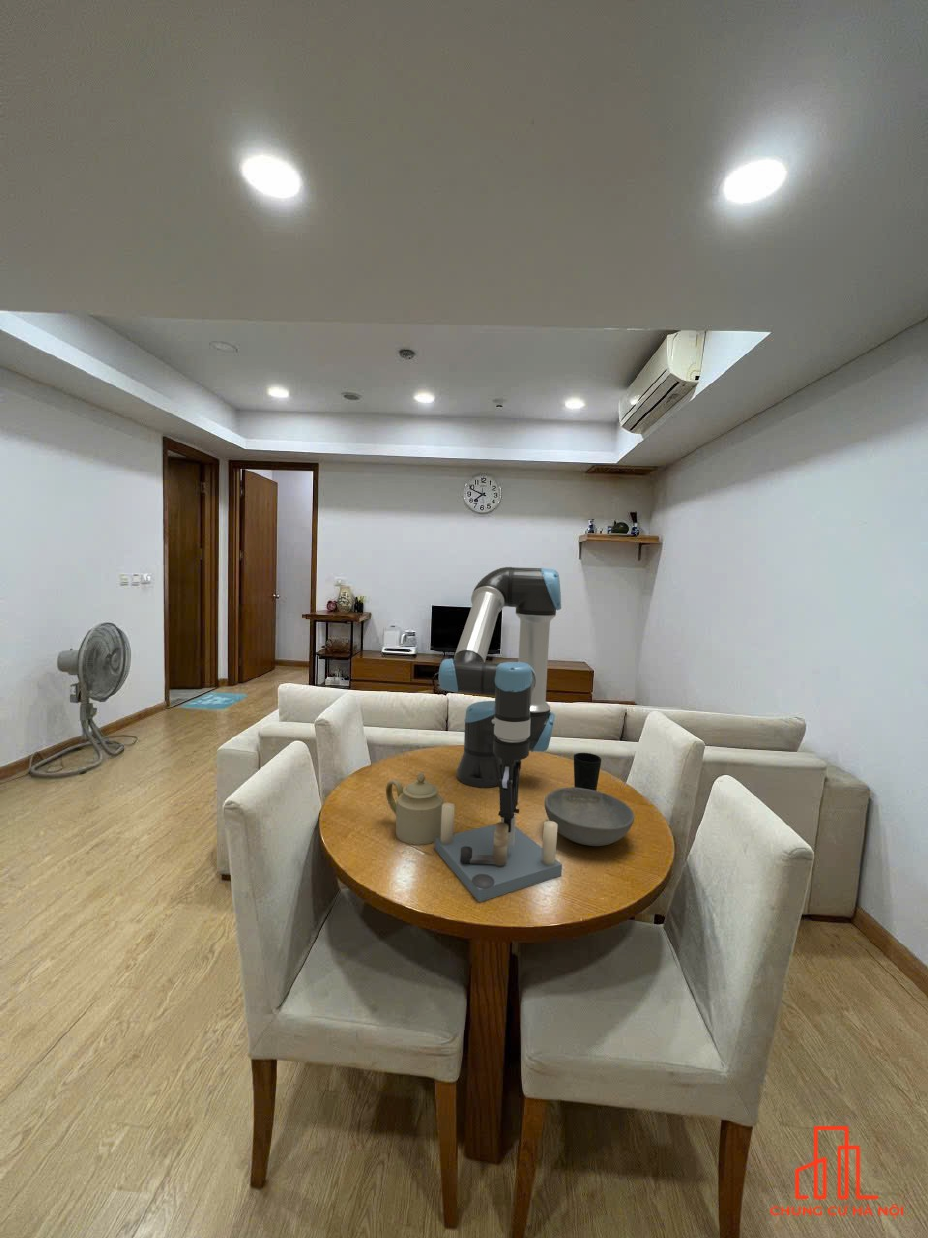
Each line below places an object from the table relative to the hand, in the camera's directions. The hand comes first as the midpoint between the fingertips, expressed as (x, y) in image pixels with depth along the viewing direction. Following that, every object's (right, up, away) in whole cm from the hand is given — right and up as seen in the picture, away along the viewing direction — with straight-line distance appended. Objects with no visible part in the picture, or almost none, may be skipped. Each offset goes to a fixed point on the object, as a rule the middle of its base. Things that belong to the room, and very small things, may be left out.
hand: (507, 843), depth 105 cm
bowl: (+20, -5, +14) cm, 25 cm away
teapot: (-22, -3, +12) cm, 26 cm away
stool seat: (-3, -5, +1) cm, 5 cm away
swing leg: (-5, -2, -3) cm, 7 cm away
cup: (+25, -3, +35) cm, 43 cm away
